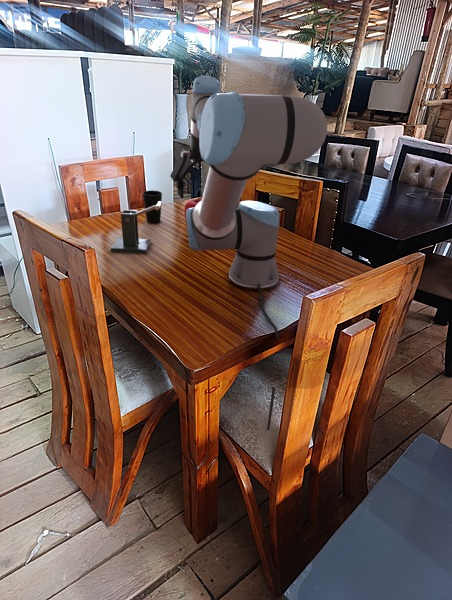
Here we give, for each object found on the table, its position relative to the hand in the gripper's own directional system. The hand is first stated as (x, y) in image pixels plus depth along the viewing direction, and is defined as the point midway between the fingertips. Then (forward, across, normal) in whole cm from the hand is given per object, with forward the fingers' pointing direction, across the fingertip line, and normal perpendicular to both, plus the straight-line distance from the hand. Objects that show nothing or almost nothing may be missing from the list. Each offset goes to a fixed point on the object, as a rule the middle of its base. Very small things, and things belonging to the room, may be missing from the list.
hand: (198, 191), depth 136 cm
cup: (+29, +8, -21) cm, 36 cm away
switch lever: (+6, +19, -2) cm, 20 cm away
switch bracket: (+17, +25, 0) cm, 31 cm away
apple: (+23, -3, -3) cm, 24 cm away
